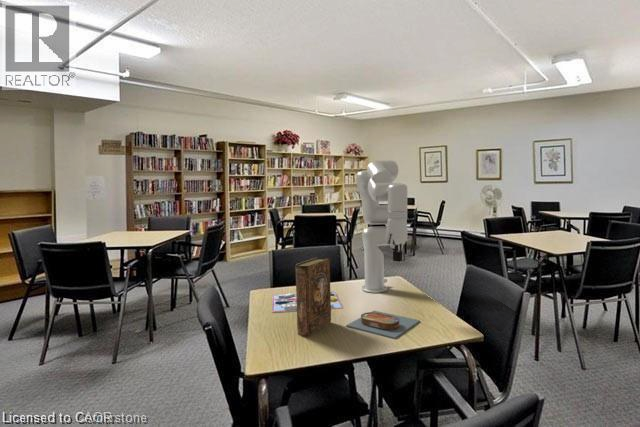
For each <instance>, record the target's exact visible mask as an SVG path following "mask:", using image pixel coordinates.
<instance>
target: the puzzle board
mask: <svg viewBox="0 0 640 427" xmlns="http://www.w3.org/2000/svg"><path fill="white" fill-rule="evenodd" d="M330 295H331V310H336V309H337V310H338V309H344V307H343V305H342V303H341V300H340V299H339V297H338V295H337V293H336V292H333V291H330ZM271 298H272V300H271V313H272V314H276V313H277V314H278V313H279V314H280V313H292V312H293V313H294V312H296V313H297V299H296V292H293V293H292V292H290V293H286V294H273V295H272V297H271Z"/></svg>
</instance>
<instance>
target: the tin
mask: <svg viewBox="0 0 640 427" xmlns="http://www.w3.org/2000/svg"><path fill="white" fill-rule="evenodd" d="M360 318H361V322H362V324H364V325H367V326H371V327H375V328H379V329H384V330H394V329H396V328H398V327H399V321H400V320H399V318H397V317H395V316H390V315H385V314H381V313H376V312H372V311H370V312H364V313H362V314H360Z"/></svg>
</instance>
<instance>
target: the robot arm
mask: <svg viewBox="0 0 640 427" xmlns="http://www.w3.org/2000/svg"><path fill="white" fill-rule="evenodd" d="M398 174H399V166H398V163H397V162H396V161H394V160H387V159H386V160H373V161H371V162H370V163H368V165H367V166H366V169H365V170H364V169H363V170H359V171H358V172H357V173H356V176H355V182H356V188H357V190H358V194H359V195H360V199H361V208H362V216H363V217H362V218H363V221H364V223H365V224H367V225H385V226H369V227H368V226H367V227H365V228H364V229H363V230H362V232H361V239H362V243H363V244H362V245H363V255H364V256H363V258H364V264H363V265H364V285H362V286H361V290H362V291H363V292H366V293H371V294H373V293H376V294H377V293H384V292H386V291H387V292H388V287H387V286H386V285H385V284H386V283H387V282H388V279H387V278H385V268H384V267H385V266H384V264H385V260H384V258H385V256H384V253H383V251H382V250H381V249H380V248H379V247H380V246H389V249H391V250H392V261H393V262H399V263H400V262H402V261H403V249H404V245H405V244H406V243H407V241H408V222H407V220H408V186H407V184H405V183H400V182H394V181H395V180H396V179H397V177H398ZM380 202H387V204H384V205H383V204H382V205H381V204H380Z"/></svg>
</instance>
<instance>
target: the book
mask: <svg viewBox="0 0 640 427" xmlns="http://www.w3.org/2000/svg"><path fill="white" fill-rule="evenodd" d="M330 263H331V262H330V258H318V257H313V258H310V259H308V260H305V261H302V262H300V263H299V262H298V263H295V294H296V299H297V311H296V316H297V317H296V323H297V324H296V325H297V327H296V328H297V335H298V336H301V337H307V338H308V337H311V336H313V335H314V334H316V333H317V332H319V331H320V330H322V329H323V328H324V327H326V326H328V325H329V324H330V323H331V321H332V309H331V295H330V292H331V266H330V265H331V264H330Z"/></svg>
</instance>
